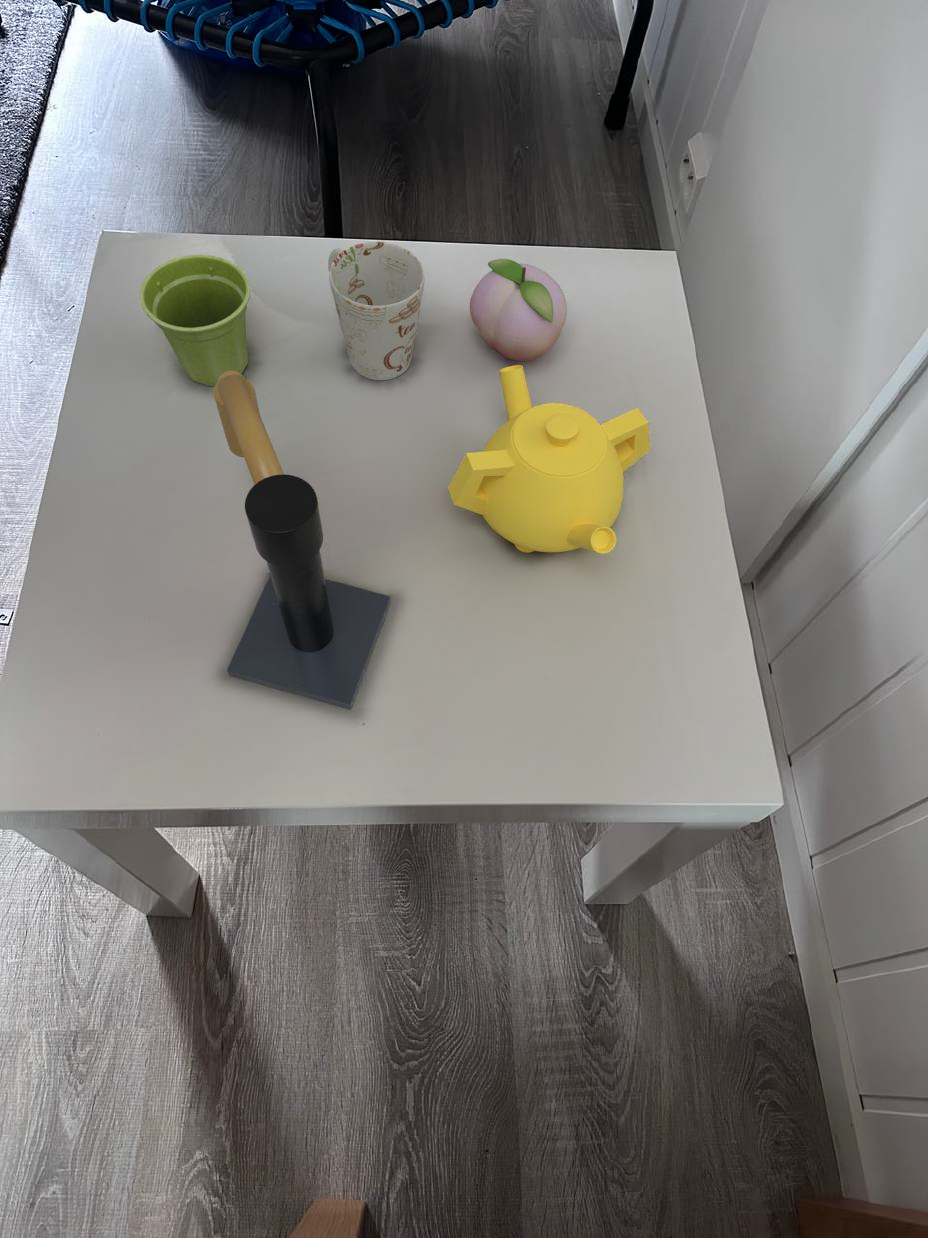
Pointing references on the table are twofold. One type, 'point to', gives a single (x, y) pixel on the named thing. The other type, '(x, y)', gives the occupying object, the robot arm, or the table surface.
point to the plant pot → (200, 313)
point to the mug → (377, 305)
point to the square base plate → (310, 635)
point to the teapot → (551, 472)
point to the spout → (268, 480)
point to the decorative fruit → (518, 309)
